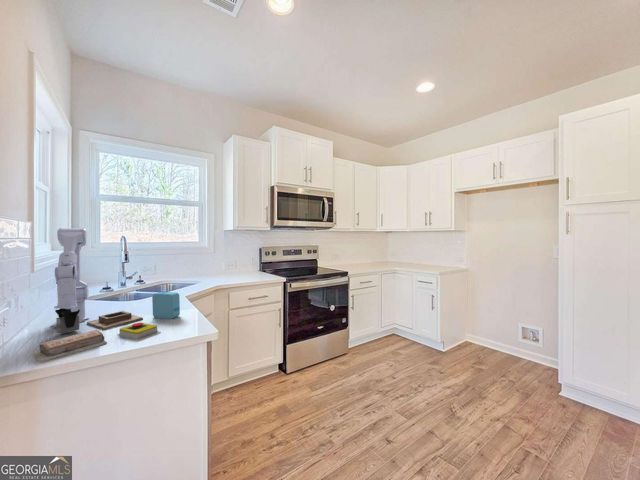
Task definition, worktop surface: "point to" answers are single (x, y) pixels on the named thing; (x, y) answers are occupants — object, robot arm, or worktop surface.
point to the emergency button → (139, 331)
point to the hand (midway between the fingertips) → (68, 326)
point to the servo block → (62, 325)
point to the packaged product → (69, 345)
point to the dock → (114, 320)
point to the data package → (166, 305)
